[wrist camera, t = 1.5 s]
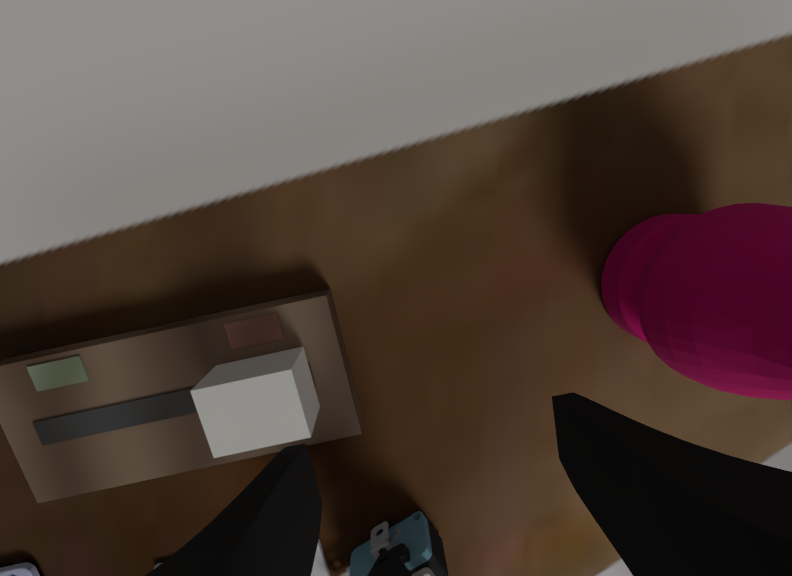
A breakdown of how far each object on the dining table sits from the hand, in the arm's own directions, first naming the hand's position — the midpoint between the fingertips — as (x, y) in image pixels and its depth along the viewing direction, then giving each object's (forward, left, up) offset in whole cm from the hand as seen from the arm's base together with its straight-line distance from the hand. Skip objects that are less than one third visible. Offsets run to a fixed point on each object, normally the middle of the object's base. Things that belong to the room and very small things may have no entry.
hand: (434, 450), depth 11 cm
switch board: (-11, 0, -9) cm, 14 cm away
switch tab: (-7, 0, -7) cm, 10 cm away
